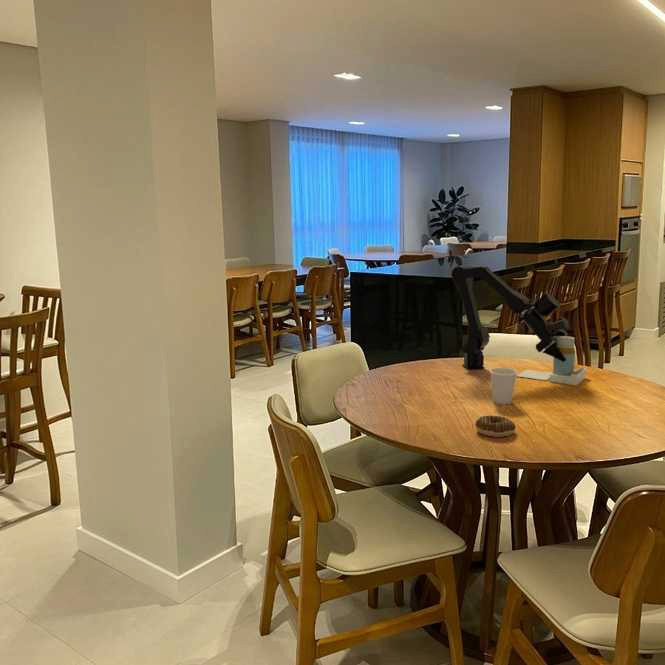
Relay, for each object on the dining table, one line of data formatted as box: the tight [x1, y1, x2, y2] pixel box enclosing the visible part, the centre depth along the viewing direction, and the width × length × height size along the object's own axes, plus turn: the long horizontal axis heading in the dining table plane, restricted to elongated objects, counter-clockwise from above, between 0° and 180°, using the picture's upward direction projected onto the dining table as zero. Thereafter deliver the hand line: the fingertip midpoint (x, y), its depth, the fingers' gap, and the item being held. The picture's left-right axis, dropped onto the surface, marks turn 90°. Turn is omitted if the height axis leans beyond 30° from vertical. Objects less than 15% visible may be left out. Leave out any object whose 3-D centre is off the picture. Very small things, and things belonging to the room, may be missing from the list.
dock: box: [549, 367, 587, 386], centre depth 232 cm, size 9×12×4 cm
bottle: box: [552, 335, 576, 376], centre depth 232 cm, size 7×7×15 cm
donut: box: [474, 415, 516, 438], centre depth 179 cm, size 11×11×4 cm
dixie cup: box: [489, 367, 518, 405], centre depth 206 cm, size 8×8×10 cm
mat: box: [516, 369, 553, 382], centre depth 238 cm, size 11×11×1 cm
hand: (568, 358), depth 231 cm, fingers closed on bottle, 7 cm apart
